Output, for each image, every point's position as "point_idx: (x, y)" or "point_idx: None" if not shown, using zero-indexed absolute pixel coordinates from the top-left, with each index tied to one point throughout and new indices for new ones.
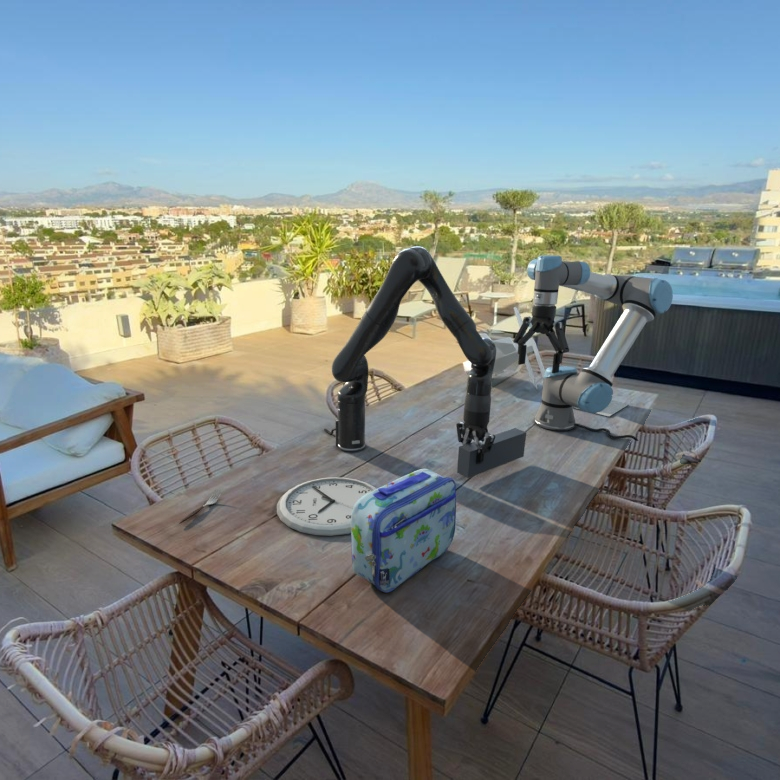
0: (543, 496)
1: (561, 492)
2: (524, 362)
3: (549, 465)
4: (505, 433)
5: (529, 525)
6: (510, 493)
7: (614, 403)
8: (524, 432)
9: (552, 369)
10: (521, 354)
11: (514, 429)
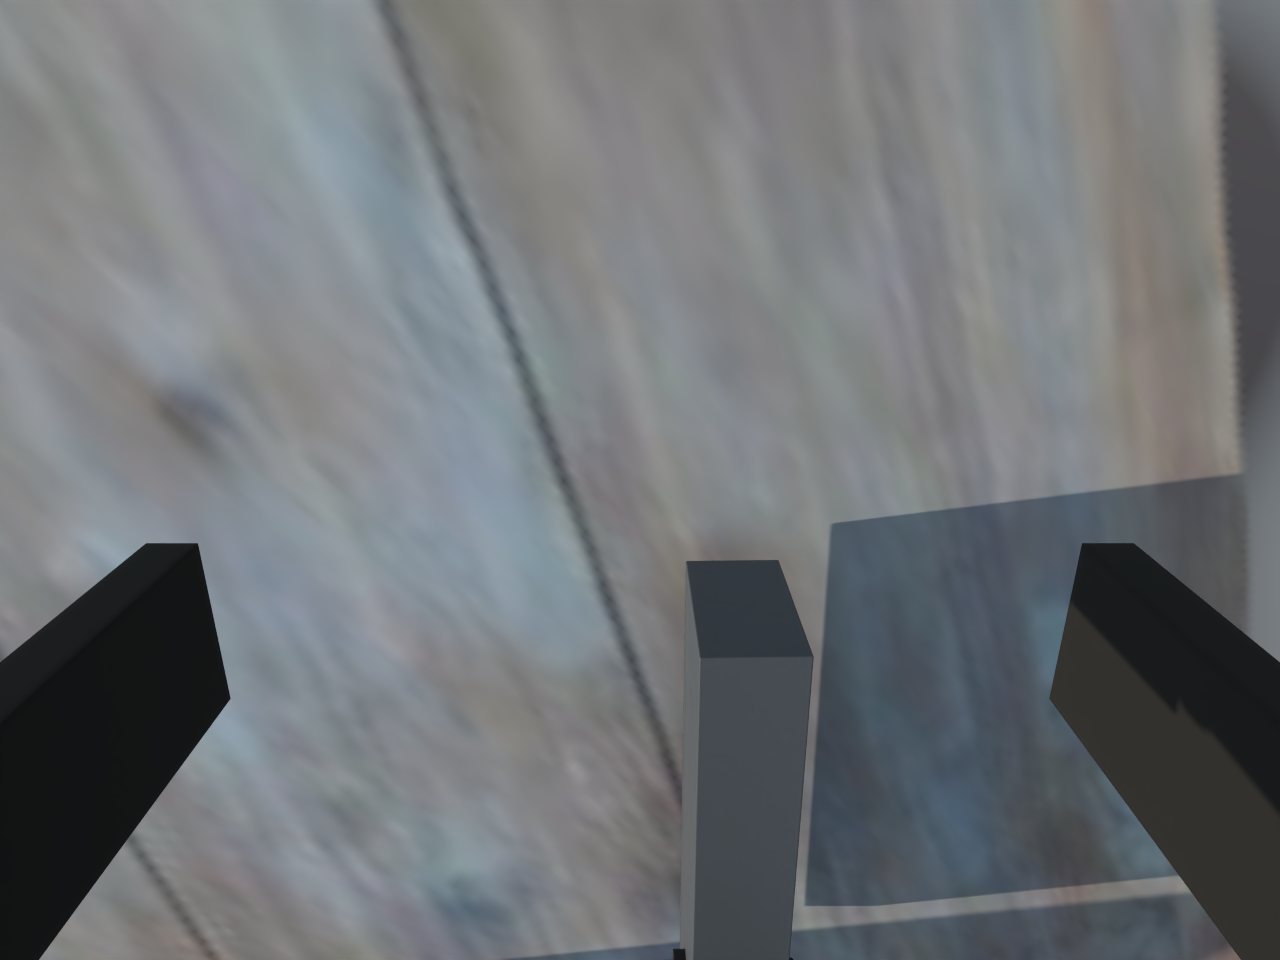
0: (1072, 755)
1: None
2: (184, 575)
3: (911, 445)
4: (727, 786)
5: (1139, 955)
6: (939, 840)
7: None
8: (806, 671)
9: (1096, 751)
10: (89, 862)
11: (717, 684)
